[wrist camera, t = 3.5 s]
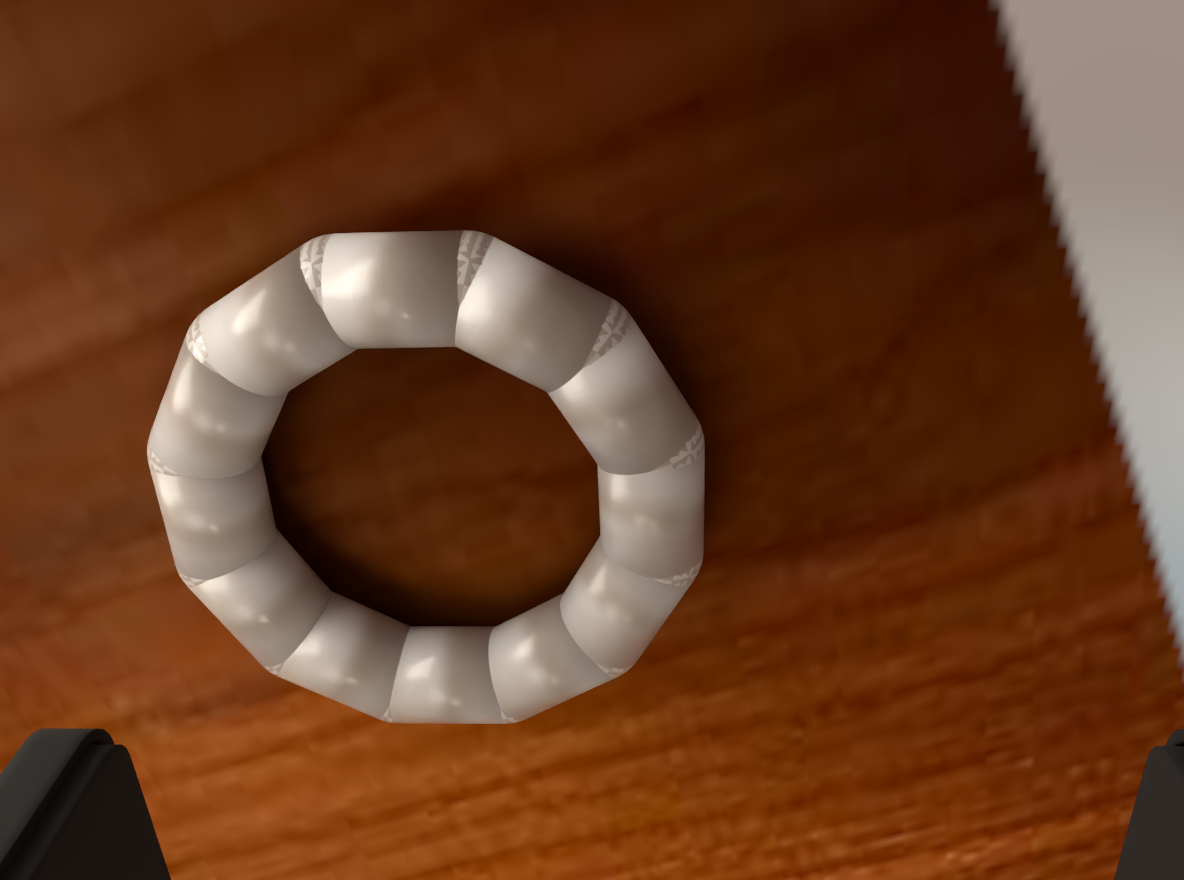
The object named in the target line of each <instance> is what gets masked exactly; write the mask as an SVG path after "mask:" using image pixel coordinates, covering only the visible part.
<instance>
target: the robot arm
mask: <svg viewBox="0 0 1184 880" xmlns="http://www.w3.org/2000/svg"><path fill="white" fill-rule="evenodd" d="M0 880H171V878H170V875H169V872H168V869H167V866H166V863H165V860H164V857H163V854H162V851H161V848H160V845H159V842H158V839H157V836H156V833H155V830H154V827H153V824H152V821H151V818H150V814H149V811H148V808H147V805H146V802H145V799H144V796H143V793H142V790H141V787H140V784H139V781H138V778H137V775H136V772H135V769H134V766H133V763H132V760H131V757H130V754H129V752H128V750H127V748H125V747H124V746H123V745H114V742H113V740H112V738H111V736H110V734H109V733H107V732H106V731H105V730H104V729H40V730H38V731H36V732H34V733H32V734H31V735H30V736H29V738H28V739H27V740H26V741H25V742H24V743H23V745H22V746H21V747H20V749H19V750H18V752H17V753H16V754H15V756H14V757H13V758H12V760H11V761H10V763H9V764H8V765H7V767H6V768H5V769H4V771H3V772H2V774H1V775H0ZM1114 880H1184V729H1183V730H1176V731H1174V732H1173V733H1172V734H1171V735H1170V737H1169V739H1168V741H1167V744H1166V746H1155V747H1154V748H1153V749H1152V750H1151V751H1150V753H1149V756H1148V758H1147V762H1146V765H1145V769H1144V773H1143V776H1142V780H1141V784H1140V787H1139V791H1138V795H1137V798H1136V802H1135V805H1134V809H1133V813H1132V816H1131V820H1130V824H1129V827H1128V831H1127V835H1126V838H1125V842H1124V846H1123V849H1122V853H1121V856H1120V860H1119V864H1118V867H1117V871H1116V875H1115V878H1114Z"/></svg>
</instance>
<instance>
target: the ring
mask: <svg viewBox="0 0 1184 880" xmlns="http://www.w3.org/2000/svg"><path fill="white" fill-rule="evenodd" d="M417 347H457V348H459V349H461V350H463V351H465V352H467V353H469V354H471V355H473V356H475V357H477V358H479V359H481V360H483V361H485V362H487V363H490V364H492V365H494V366H496V367H498V368H500V369H502V370H504V371H506V372H508V373H510V374H512V375H514V376H516V377H518V378H520V379H522V380H524V381H526V382H528V383H530V384H532V385H534V386H536V387H538V388H540V389H542V390H544V391H546V392H547V393H548V394H549V396H550V397H551V399H552V400H553V401H554V403H555V404H556V406H557V407H558V409H559V410H560V411H561V413H562V414H563V416H564V417H565V419H566V420H567V421H568V423H569V424H570V426H571V427H572V428H573V430H574V431H575V433H576V434H577V436H578V437H579V438H580V440H581V441H582V443H583V444H584V446H585V447H586V448H587V450H588V451H589V453H590V454H591V455H592V457H593V458H594V460H595V461H596V463H597V466H598V489H599V512H600V537H599V538H598V540H597V541H596V543H595V545H594V546H593V548H592V549H591V551H590V553H589V554H588V556H587V557H586V559H585V560H584V562H583V564H582V565H581V567H580V568H579V570H578V572H577V573H576V575H575V576H574V578H573V579H572V581H571V583H570V584H569V586H568V587H567V589H566V590H565V592H564V593H562V594H560V595H558V596H556V597H554V598H552V599H550V600H548V601H546V602H544V603H542V604H540V605H538V606H536V607H534V608H532V609H530V610H528V611H526V612H524V613H522V614H520V615H518V616H516V617H514V618H512V619H510V620H508V621H506V622H504V623H502V624H500V625H498V626H409V625H407V624H405V623H402V622H400V621H398V620H396V619H393V618H391V617H389V616H387V615H384V614H382V613H380V612H378V611H375V610H373V609H371V608H369V607H366V606H364V605H362V604H360V603H357V602H355V601H353V600H351V599H348V598H346V597H344V596H342V595H339V594H337V593H335V592H332V591H331V590H330V589H329V588H328V587H327V586H326V585H325V584H324V582H323V581H322V580H321V579H320V578H319V577H318V576H317V574H316V573H315V572H314V571H313V570H312V569H311V568H310V566H309V565H308V564H307V563H306V562H305V561H304V560H303V558H302V557H301V556H300V555H299V554H298V553H297V551H296V550H295V549H294V548H293V547H292V546H291V545H290V543H289V542H288V541H287V540H286V539H285V538H284V537H283V535H282V534H281V533H280V532H279V531H278V530H277V529H276V525H275V520H274V515H273V511H272V506H271V501H270V496H269V491H268V487H267V482H266V477H265V472H264V467H263V463H262V458H261V455H262V453H263V450H264V448H265V446H266V443H267V441H268V439H269V436H270V434H271V432H272V429H273V427H274V425H275V422H276V420H277V418H278V415H279V413H280V411H281V408H282V406H283V404H284V401H285V399H286V396H287V394H288V392H289V391H290V390H291V389H293V388H295V387H296V386H298V385H300V384H301V383H303V382H304V381H306V380H308V379H309V378H311V377H313V376H314V375H316V374H317V373H319V372H321V371H322V370H324V369H326V368H327V367H329V366H330V365H332V364H334V363H335V362H337V361H339V360H340V359H342V358H343V357H345V356H347V355H348V354H350V353H352V352H353V351H355V350H356V349H362V348H417ZM147 456H148V463H149V467H150V471H151V475H152V478H153V482H154V486H155V490H156V494H157V497H158V501H159V505H160V509H161V513H162V516H163V520H164V524H165V528H166V531H167V535H168V539H169V543H170V547H171V550H172V554H173V558H174V562H175V566H176V569H177V571H178V573H179V575H180V577H181V578H182V580H183V581H184V583H185V584H186V585H187V586H188V588H189V589H190V590H191V591H192V592H193V593H194V594H195V595H196V596H197V597H198V598H199V599H200V600H201V601H202V602H203V603H204V605H205V606H206V607H207V608H208V609H209V610H210V611H211V612H212V613H213V614H214V615H215V616H216V617H217V618H218V619H219V620H220V622H221V623H222V624H223V625H224V626H225V627H226V628H227V629H228V630H229V631H230V632H231V633H232V634H233V635H234V636H235V637H236V639H237V640H238V641H239V642H240V643H241V644H242V645H243V646H244V647H245V648H246V649H247V650H248V651H249V652H250V653H251V654H252V655H253V657H254V658H255V659H256V660H257V661H258V662H259V663H260V664H261V665H262V666H263V667H264V668H265V669H267V670H268V671H269V672H270V673H272V674H274V675H276V676H278V677H280V678H283V679H285V680H287V681H290V682H292V683H295V684H297V685H299V686H302V687H304V688H306V689H309V690H311V691H313V692H316V693H318V694H320V695H323V696H325V697H328V698H330V699H332V700H335V701H337V702H339V703H342V704H344V705H346V706H349V707H351V708H354V709H356V710H358V711H361V712H363V713H365V714H368V715H370V716H372V717H375V718H377V719H379V720H383V721H386V722H391V723H462V724H508V723H515V722H519V721H522V720H525V719H527V718H529V717H531V716H534V715H536V714H538V713H540V712H542V711H545V710H547V709H549V708H551V707H553V706H555V705H558V704H560V703H562V702H564V701H566V700H568V699H571V698H573V697H575V696H577V695H579V694H581V693H584V692H586V691H588V690H590V689H592V688H595V687H597V686H599V685H601V684H603V683H605V682H608V681H610V680H612V679H614V678H616V677H619V676H620V675H622V674H624V673H625V672H627V671H628V670H629V669H630V668H631V667H632V666H633V665H634V664H635V663H636V662H637V661H638V659H639V658H640V656H641V655H642V654H643V652H644V651H645V649H646V648H647V646H648V645H649V644H650V642H651V641H652V639H653V638H654V636H655V635H656V634H657V632H658V631H659V629H660V628H661V626H662V625H663V624H664V622H665V621H666V619H667V618H668V616H669V615H670V614H671V612H672V611H673V609H674V608H675V607H676V605H677V604H678V602H679V601H680V599H681V598H682V597H683V595H684V594H685V592H686V591H687V589H688V588H689V587H690V585H691V584H692V582H693V581H694V579H695V578H696V576H697V574H698V572H699V570H700V568H701V565H702V561H703V553H704V475H705V442H704V435H703V431H702V428H701V425H700V422H699V421H698V419H697V417H696V416H695V414H694V412H693V411H692V409H691V408H690V406H689V405H688V403H687V402H686V400H685V399H684V397H683V395H682V394H681V392H680V391H679V389H678V388H677V386H676V385H675V383H674V381H673V380H672V378H671V377H670V375H669V374H668V372H667V371H666V369H665V367H664V366H663V364H662V363H661V361H660V360H659V358H658V357H657V355H656V354H655V352H654V350H653V349H652V347H651V346H650V344H649V343H648V341H647V340H646V338H645V336H644V335H643V333H642V332H641V330H640V329H639V327H638V326H637V324H636V322H635V321H634V319H633V318H632V316H631V315H630V314H629V312H628V311H627V310H626V309H625V308H624V307H623V306H622V305H621V304H620V303H618V302H617V301H616V300H614V299H612V298H611V297H609V296H607V295H605V294H603V293H601V292H599V291H597V290H595V289H594V288H592V287H590V286H588V285H586V284H584V283H582V282H580V281H578V280H576V279H574V278H572V277H570V276H569V275H567V274H565V273H563V272H561V271H559V270H557V269H555V268H553V267H551V266H549V265H547V264H545V263H544V262H542V261H540V260H538V259H536V258H534V257H532V256H530V255H528V254H526V253H524V252H522V251H520V250H518V249H517V248H515V247H513V246H511V245H509V244H507V243H505V242H503V241H501V240H499V239H497V238H495V237H493V236H491V235H489V234H486V233H483V232H479V231H472V230H471V231H468V230H450V231H411V232H371V233H335V234H326V235H322V236H319V237H316V238H313V239H312V240H310V241H308V242H306V243H304V244H303V245H301V246H300V247H298V248H297V249H295V250H294V251H292V252H291V253H289V254H288V255H286V256H285V257H283V258H282V259H280V260H279V261H277V262H276V263H274V264H273V265H271V266H270V267H268V268H267V269H265V270H264V271H262V272H261V273H259V274H258V275H256V276H255V277H253V278H252V279H250V280H249V281H247V282H246V283H244V284H243V285H241V286H240V287H238V288H237V289H235V290H234V291H232V292H231V293H229V294H228V295H226V296H225V297H223V298H222V299H220V300H219V301H217V302H216V303H214V304H213V305H211V306H210V307H208V308H207V309H205V310H204V311H203V312H201V313H200V314H199V315H198V316H197V318H196V319H195V320H194V321H193V323H192V324H191V326H190V327H189V330H188V332H187V334H186V337H185V339H184V342H183V345H182V348H181V350H180V353H179V356H178V359H177V361H176V364H175V367H174V370H173V372H172V375H171V378H170V381H169V383H168V386H167V389H166V392H165V394H164V397H163V400H162V403H161V405H160V408H159V411H158V413H157V416H156V419H155V422H154V424H153V427H152V430H151V433H150V436H149V440H148V446H147Z"/></svg>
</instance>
